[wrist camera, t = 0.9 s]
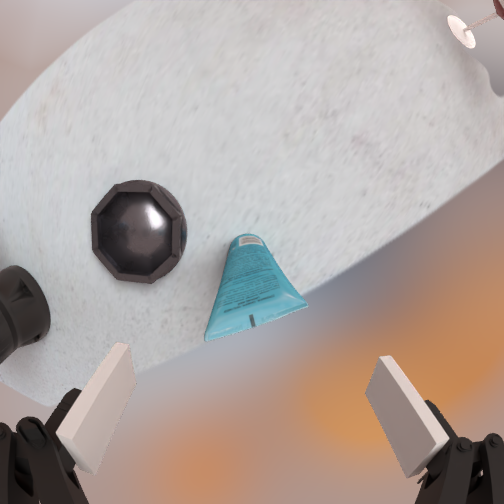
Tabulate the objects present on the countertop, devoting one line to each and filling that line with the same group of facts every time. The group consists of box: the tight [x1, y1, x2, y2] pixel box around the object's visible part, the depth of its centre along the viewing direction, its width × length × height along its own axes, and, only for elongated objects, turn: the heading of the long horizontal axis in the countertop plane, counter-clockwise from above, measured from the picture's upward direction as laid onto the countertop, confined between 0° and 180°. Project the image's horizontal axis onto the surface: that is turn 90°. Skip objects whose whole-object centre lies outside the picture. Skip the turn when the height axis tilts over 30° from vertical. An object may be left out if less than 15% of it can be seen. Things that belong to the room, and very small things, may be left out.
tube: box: [204, 234, 308, 342], centre depth 27 cm, size 7×5×19 cm, turn 116°
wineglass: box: [447, 0, 504, 48], centre depth 16 cm, size 9×10×22 cm
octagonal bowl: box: [91, 180, 187, 284], centre depth 34 cm, size 14×14×2 cm
